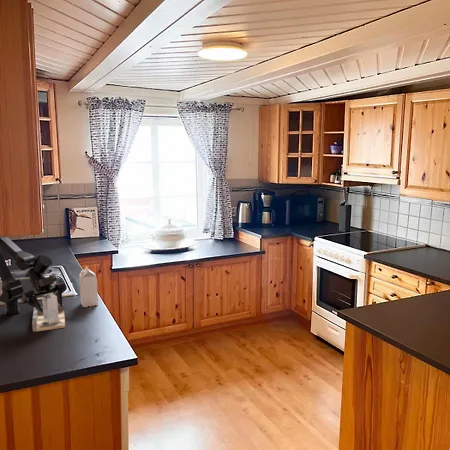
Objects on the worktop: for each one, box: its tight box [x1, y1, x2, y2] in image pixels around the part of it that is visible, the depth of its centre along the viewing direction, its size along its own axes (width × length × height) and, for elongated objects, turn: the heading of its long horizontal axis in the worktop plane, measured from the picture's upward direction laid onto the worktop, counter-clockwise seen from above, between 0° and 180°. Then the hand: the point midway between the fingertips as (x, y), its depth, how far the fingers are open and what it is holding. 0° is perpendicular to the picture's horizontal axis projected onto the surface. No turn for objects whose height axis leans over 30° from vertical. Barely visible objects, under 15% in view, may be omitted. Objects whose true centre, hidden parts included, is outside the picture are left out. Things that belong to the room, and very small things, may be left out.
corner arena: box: [31, 303, 66, 332], centre depth 204 cm, size 20×13×4 cm, turn 20°
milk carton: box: [78, 265, 99, 308], centre depth 224 cm, size 7×7×19 cm
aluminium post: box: [41, 294, 59, 325], centre depth 199 cm, size 4×4×12 cm
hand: (52, 308), depth 198 cm, fingers open, 9 cm apart
